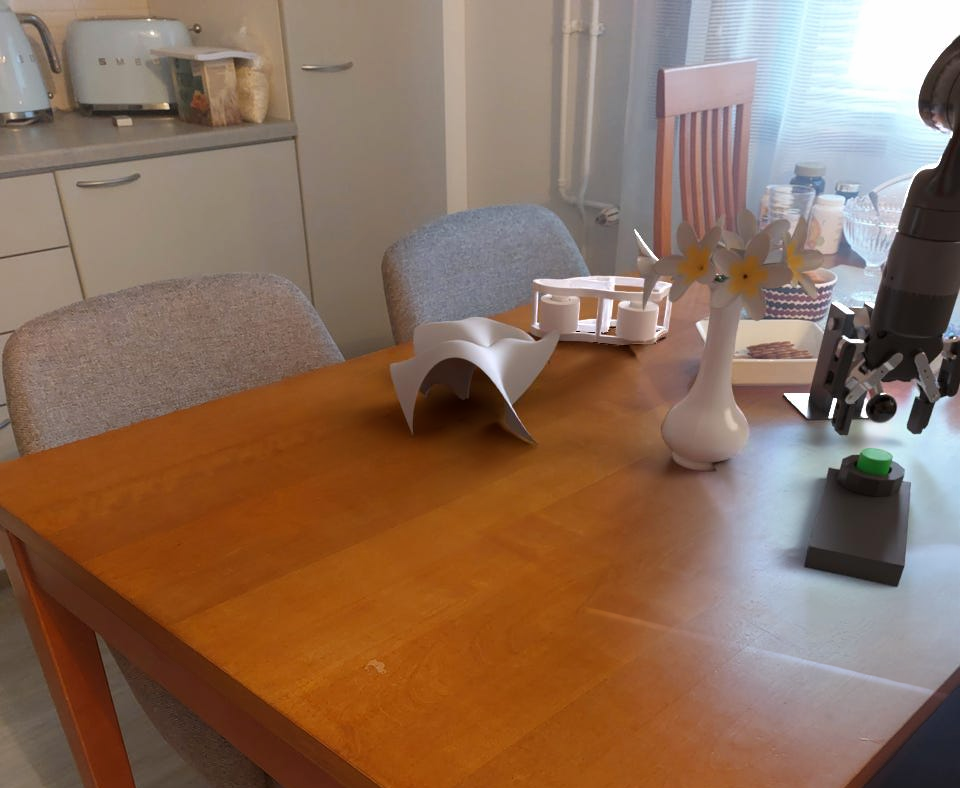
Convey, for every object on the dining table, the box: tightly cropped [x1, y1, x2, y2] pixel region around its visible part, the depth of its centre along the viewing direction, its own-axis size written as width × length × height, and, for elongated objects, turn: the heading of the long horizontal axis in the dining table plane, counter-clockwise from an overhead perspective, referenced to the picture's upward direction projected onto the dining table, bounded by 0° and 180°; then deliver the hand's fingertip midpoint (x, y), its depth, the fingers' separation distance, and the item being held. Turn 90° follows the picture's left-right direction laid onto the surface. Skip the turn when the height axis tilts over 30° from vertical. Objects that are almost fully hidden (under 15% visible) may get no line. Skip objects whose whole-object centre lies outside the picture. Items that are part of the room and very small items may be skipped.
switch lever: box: [847, 306, 898, 424], centre depth 104 cm, size 15×3×3 cm
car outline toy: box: [529, 275, 673, 344], centre depth 133 cm, size 20×11×7 cm, turn 78°
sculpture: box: [389, 316, 561, 446], centre depth 111 cm, size 25×19×10 cm
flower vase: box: [633, 207, 825, 472], centre depth 94 cm, size 13×18×25 cm
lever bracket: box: [782, 302, 875, 421], centre depth 109 cm, size 8×10×13 cm
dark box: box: [803, 454, 912, 588], centre depth 88 cm, size 19×8×4 cm, turn 157°
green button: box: [856, 447, 894, 475], centre depth 91 cm, size 3×3×2 cm
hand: (877, 432), depth 103 cm, fingers open, 8 cm apart
